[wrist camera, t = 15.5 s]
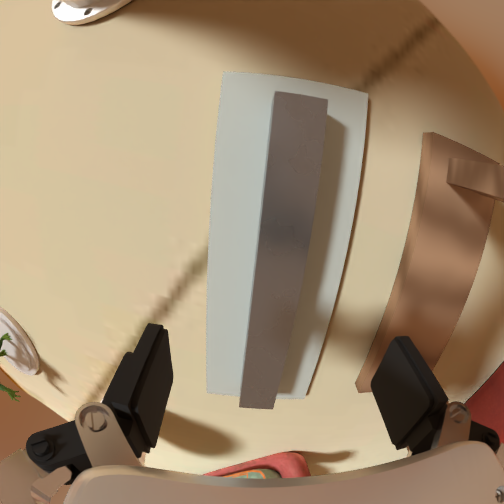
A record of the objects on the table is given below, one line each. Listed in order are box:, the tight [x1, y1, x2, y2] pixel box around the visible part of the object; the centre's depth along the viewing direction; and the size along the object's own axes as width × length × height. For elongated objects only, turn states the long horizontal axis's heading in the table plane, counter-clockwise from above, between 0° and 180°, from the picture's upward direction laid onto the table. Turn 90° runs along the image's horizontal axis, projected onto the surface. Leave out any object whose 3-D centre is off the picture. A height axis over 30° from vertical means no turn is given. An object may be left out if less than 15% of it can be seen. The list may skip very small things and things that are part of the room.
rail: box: [239, 91, 328, 409], centre depth 18 cm, size 24×3×3 cm, turn 174°
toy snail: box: [203, 452, 311, 479], centre depth 26 cm, size 25×8×14 cm, turn 132°
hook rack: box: [355, 132, 504, 452], centre depth 13 cm, size 25×9×16 cm, turn 175°
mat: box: [206, 72, 368, 399], centre depth 20 cm, size 28×10×1 cm, turn 175°
